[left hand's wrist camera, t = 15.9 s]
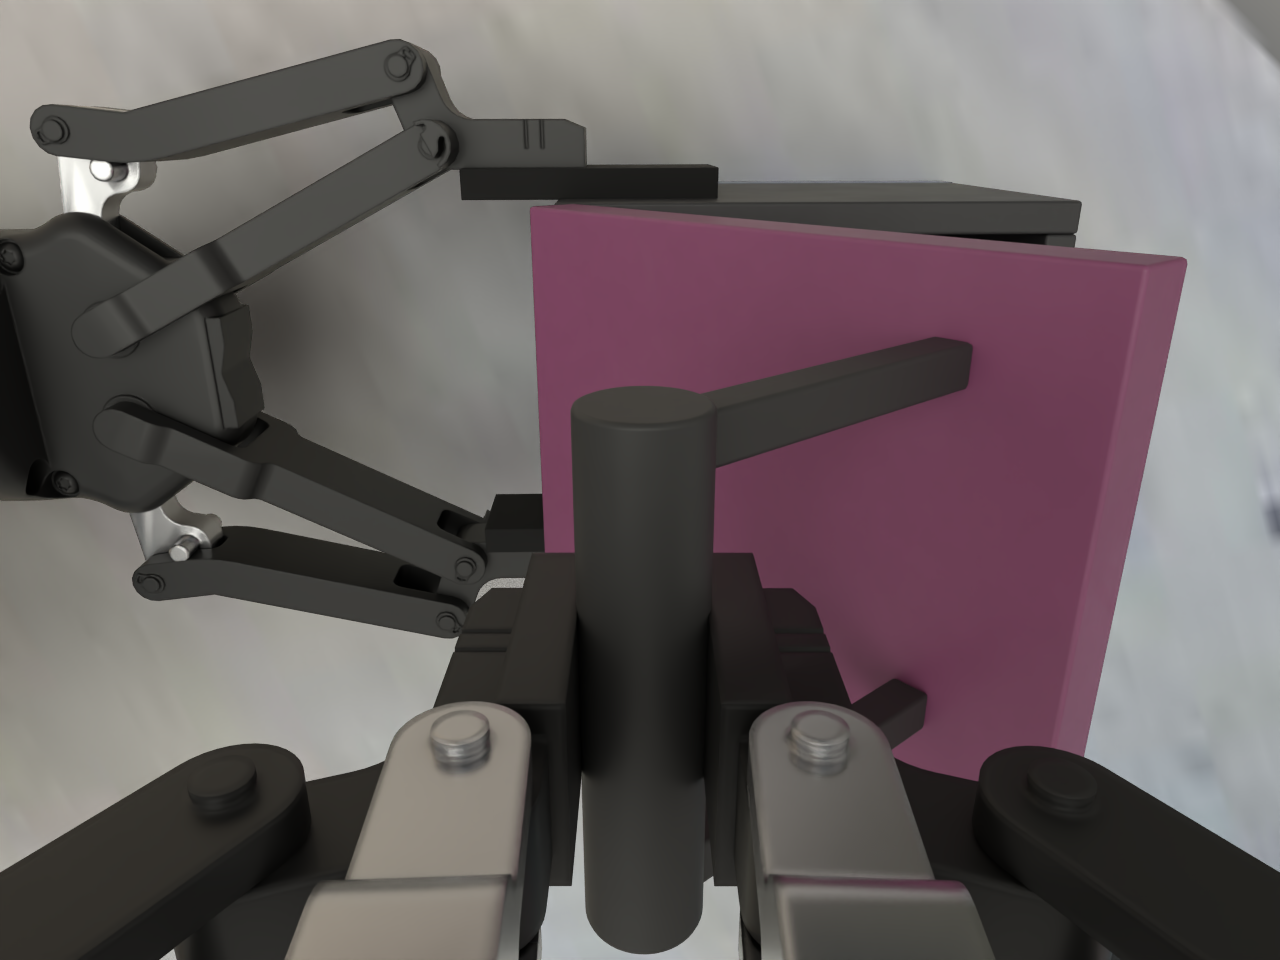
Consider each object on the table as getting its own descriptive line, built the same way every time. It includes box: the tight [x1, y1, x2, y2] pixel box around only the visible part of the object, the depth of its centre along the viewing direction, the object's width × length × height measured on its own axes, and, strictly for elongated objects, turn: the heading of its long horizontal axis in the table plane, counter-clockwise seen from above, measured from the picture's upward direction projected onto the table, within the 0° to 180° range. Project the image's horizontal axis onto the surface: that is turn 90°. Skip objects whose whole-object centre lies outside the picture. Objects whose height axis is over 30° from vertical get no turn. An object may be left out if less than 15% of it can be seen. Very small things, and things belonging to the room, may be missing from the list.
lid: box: [530, 204, 1187, 954], centre depth 16 cm, size 13×9×8 cm
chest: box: [555, 181, 1082, 248], centre depth 28 cm, size 13×9×10 cm
